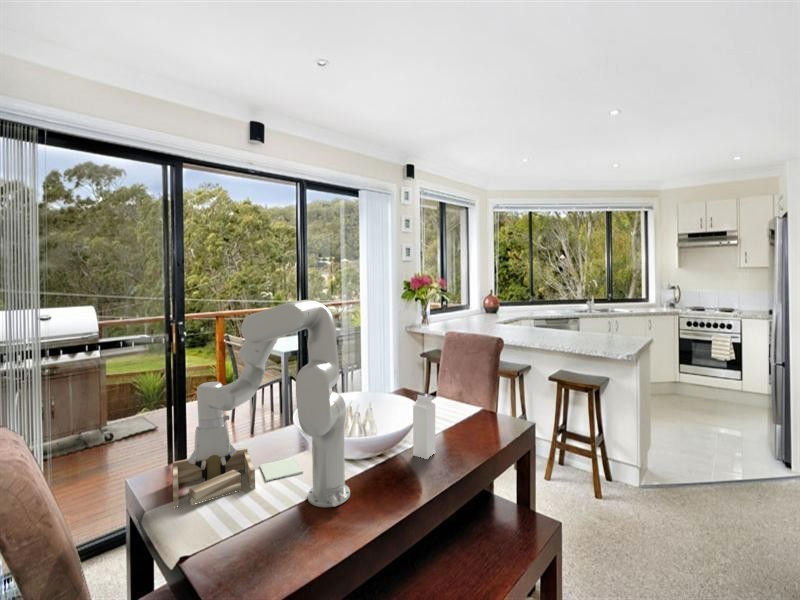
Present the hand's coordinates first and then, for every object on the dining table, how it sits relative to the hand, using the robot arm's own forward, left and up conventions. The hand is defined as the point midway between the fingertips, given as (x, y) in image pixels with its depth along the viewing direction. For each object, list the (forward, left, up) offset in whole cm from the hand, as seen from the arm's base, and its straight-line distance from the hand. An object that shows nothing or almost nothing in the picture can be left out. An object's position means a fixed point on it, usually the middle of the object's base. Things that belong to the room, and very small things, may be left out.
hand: (213, 477), depth 131 cm
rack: (-1, 0, -2) cm, 3 cm away
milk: (-14, -70, -3) cm, 71 cm away
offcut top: (-7, 0, 0) cm, 7 cm away
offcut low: (-7, 0, -3) cm, 7 cm away
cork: (0, 0, -2) cm, 2 cm away
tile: (0, -21, -2) cm, 21 cm away
